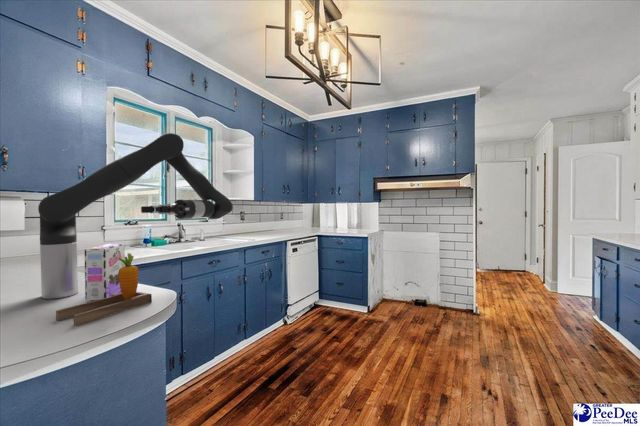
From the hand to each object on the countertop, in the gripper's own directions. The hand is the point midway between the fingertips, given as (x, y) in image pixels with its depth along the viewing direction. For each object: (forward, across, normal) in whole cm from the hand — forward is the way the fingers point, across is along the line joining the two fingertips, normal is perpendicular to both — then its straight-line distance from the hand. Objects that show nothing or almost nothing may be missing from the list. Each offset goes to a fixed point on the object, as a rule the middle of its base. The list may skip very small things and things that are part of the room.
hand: (150, 209), depth 103 cm
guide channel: (+17, +5, +28) cm, 33 cm away
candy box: (+8, -11, +28) cm, 31 cm away
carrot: (+11, +5, +28) cm, 31 cm away
